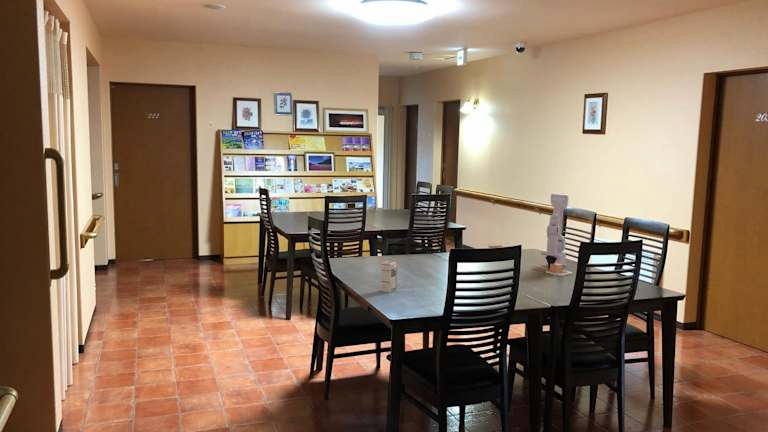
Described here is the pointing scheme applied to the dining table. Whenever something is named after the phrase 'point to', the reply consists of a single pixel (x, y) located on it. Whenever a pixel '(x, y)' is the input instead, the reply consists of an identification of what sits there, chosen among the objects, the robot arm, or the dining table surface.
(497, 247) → the supplement box
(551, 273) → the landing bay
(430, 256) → the dining table surface
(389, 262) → the syrup box
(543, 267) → the parallel wooden rails
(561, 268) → the terracotta block
